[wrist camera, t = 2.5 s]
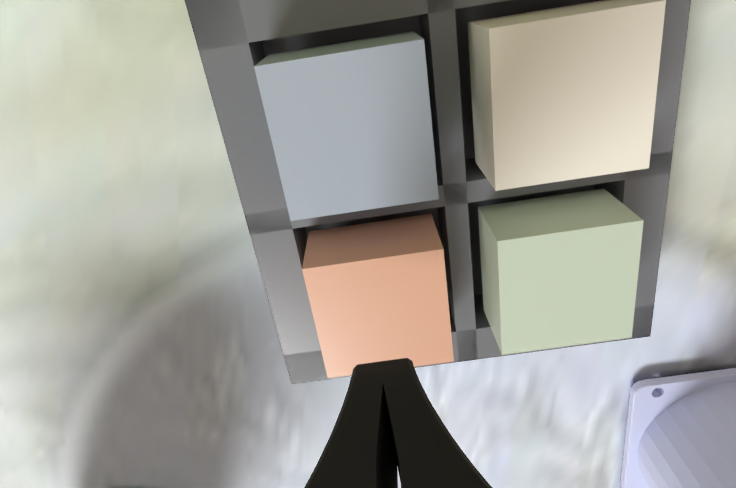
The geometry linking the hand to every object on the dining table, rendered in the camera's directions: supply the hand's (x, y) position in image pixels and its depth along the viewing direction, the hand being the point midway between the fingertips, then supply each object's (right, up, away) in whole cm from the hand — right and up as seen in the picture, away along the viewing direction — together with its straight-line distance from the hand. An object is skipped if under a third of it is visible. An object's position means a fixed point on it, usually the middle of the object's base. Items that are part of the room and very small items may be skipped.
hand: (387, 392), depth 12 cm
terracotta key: (0, +2, +5) cm, 6 cm away
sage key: (+5, +3, +5) cm, 8 cm away
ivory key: (+4, +8, +2) cm, 10 cm away
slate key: (-1, +7, +3) cm, 8 cm away
